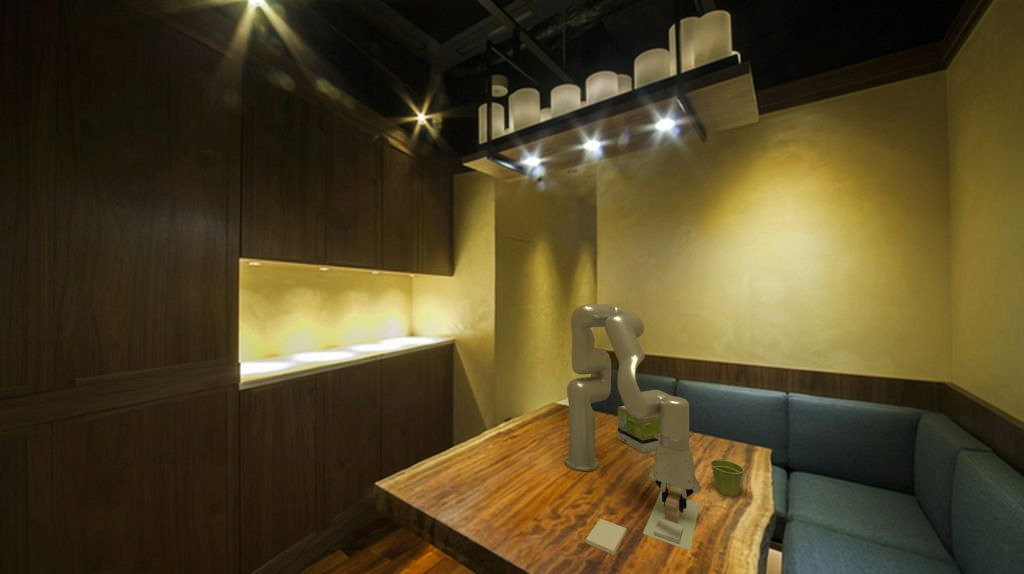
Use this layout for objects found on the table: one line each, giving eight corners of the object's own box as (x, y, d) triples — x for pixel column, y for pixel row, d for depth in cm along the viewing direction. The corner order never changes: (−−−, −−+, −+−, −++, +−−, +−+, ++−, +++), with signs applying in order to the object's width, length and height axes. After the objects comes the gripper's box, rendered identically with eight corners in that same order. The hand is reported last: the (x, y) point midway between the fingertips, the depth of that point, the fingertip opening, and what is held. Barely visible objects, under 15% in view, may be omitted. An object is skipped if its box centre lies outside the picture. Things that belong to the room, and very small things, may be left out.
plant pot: (703, 486, 116) (703, 459, 116) (730, 485, 117) (730, 459, 117) (722, 502, 107) (722, 473, 107) (751, 501, 107) (751, 472, 108)
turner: (667, 497, 107) (667, 480, 108) (689, 503, 104) (689, 486, 104) (653, 534, 90) (653, 514, 90) (679, 543, 87) (679, 522, 87)
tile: (600, 518, 95) (585, 538, 86) (626, 528, 91) (613, 550, 82) (600, 526, 95) (585, 548, 86) (626, 537, 91) (613, 560, 82)
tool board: (660, 494, 110) (660, 491, 111) (699, 506, 104) (699, 503, 104) (642, 536, 90) (642, 533, 90) (690, 554, 84) (690, 550, 84)
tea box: (616, 439, 154) (616, 405, 154) (633, 436, 158) (634, 403, 159) (642, 453, 140) (642, 416, 141) (660, 449, 144) (660, 413, 145)
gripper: (641, 439, 101) (640, 504, 100) (706, 454, 92) (706, 525, 91) (646, 431, 107) (646, 492, 107) (708, 444, 98) (708, 511, 97)
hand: (674, 506), depth 99 cm, fingers open, 3 cm apart
